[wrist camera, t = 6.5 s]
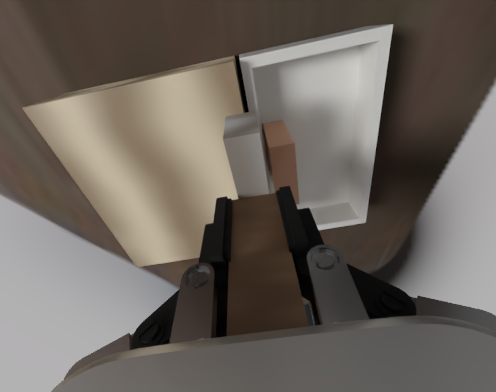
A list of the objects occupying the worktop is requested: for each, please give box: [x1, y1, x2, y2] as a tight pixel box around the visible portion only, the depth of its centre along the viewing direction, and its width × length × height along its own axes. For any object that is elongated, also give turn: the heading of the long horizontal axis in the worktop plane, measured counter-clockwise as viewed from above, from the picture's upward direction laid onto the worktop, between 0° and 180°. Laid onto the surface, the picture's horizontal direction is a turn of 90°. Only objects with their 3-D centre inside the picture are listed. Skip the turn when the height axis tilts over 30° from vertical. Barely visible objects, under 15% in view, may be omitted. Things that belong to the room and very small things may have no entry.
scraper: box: [223, 111, 309, 336], centre depth 11 cm, size 2×9×10 cm, turn 10°
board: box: [23, 56, 245, 267], centre depth 18 cm, size 12×14×4 cm
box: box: [239, 24, 393, 230], centre depth 18 cm, size 8×14×3 cm, turn 11°
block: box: [263, 120, 299, 205], centre depth 17 cm, size 4×4×2 cm
